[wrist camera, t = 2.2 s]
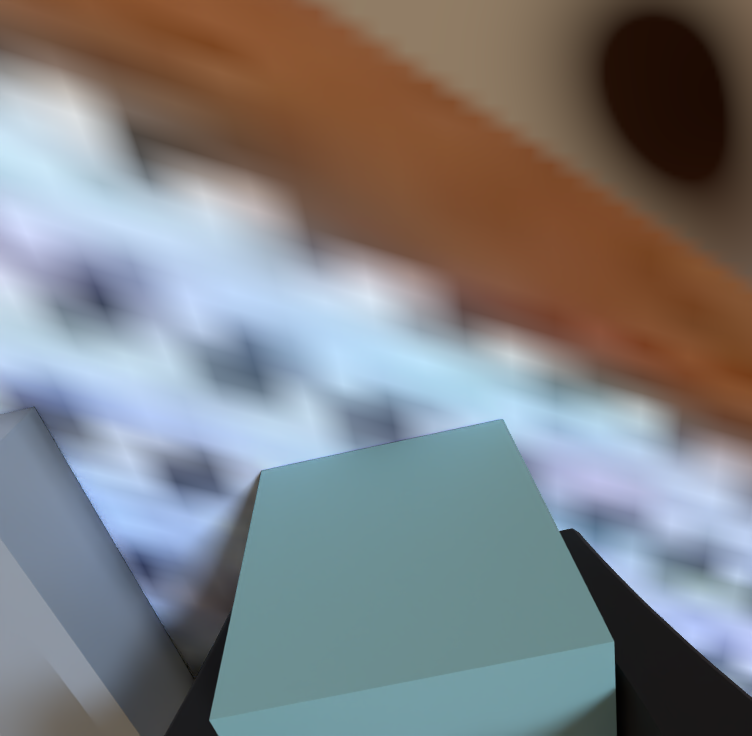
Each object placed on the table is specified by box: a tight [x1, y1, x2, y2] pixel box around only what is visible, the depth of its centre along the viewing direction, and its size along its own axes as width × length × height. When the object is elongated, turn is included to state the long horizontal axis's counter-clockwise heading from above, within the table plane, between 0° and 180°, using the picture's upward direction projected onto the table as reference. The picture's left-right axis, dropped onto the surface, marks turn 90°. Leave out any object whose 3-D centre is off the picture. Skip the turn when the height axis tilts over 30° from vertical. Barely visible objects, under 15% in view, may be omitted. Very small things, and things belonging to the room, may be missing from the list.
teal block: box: [209, 419, 617, 736], centre depth 9 cm, size 4×4×4 cm
